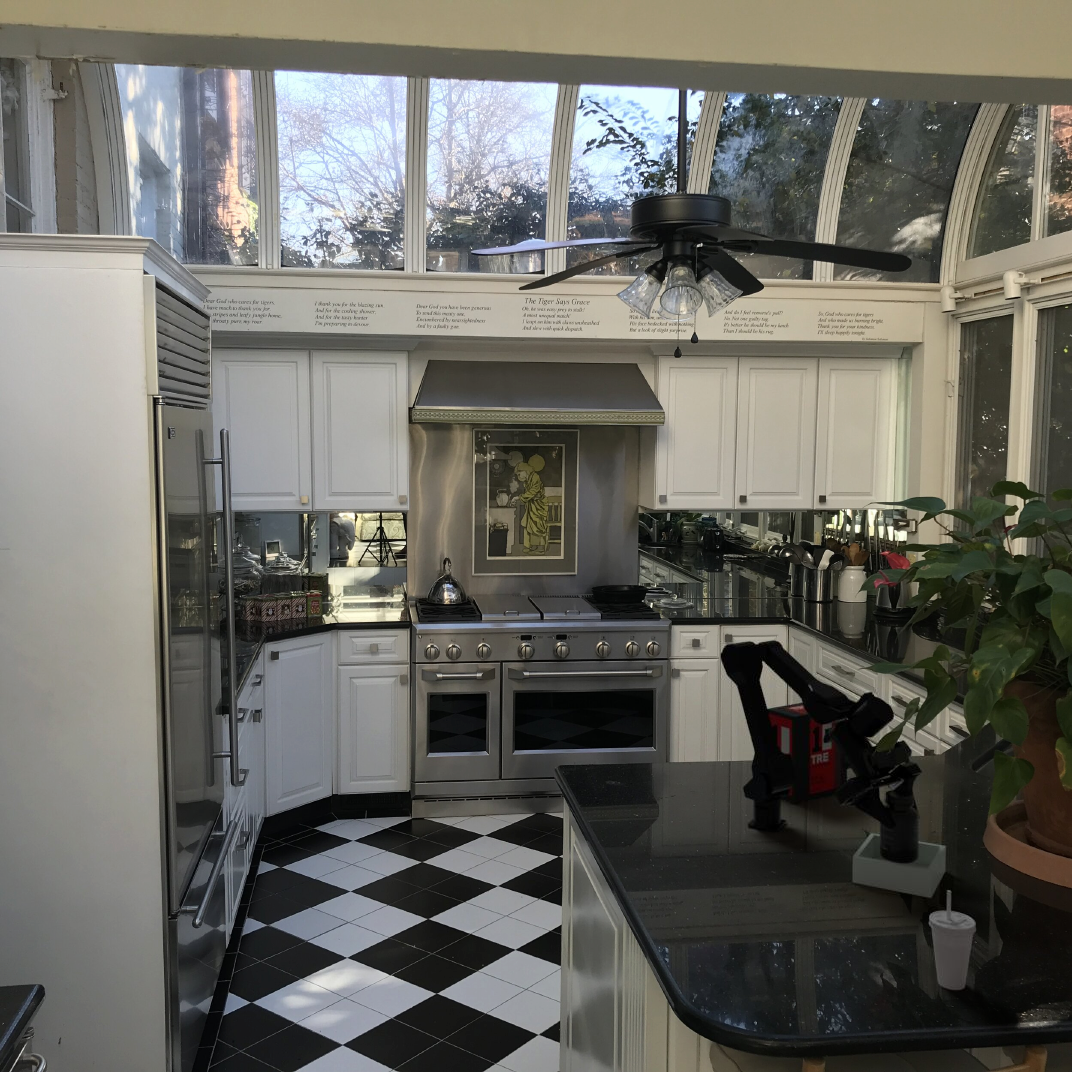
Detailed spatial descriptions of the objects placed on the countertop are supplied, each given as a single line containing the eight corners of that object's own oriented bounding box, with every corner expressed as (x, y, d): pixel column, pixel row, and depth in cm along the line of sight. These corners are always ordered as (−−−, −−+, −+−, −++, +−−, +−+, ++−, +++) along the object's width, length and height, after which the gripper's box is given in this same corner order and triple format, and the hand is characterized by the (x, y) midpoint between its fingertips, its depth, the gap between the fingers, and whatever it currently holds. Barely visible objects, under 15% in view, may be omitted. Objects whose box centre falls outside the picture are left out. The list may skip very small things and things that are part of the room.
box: (870, 857, 197) (871, 833, 196) (945, 871, 190) (945, 846, 189) (852, 882, 185) (852, 856, 185) (931, 898, 178) (931, 871, 178)
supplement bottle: (900, 848, 192) (902, 786, 191) (926, 861, 185) (928, 797, 185) (871, 853, 189) (872, 790, 188) (896, 866, 183) (897, 801, 182)
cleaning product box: (818, 781, 244) (818, 699, 242) (846, 791, 236) (847, 707, 235) (766, 793, 236) (766, 708, 234) (794, 804, 228) (794, 716, 226)
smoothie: (920, 974, 152) (921, 882, 151) (961, 971, 153) (962, 880, 152) (940, 996, 146) (942, 901, 145) (983, 993, 146) (985, 899, 145)
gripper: (849, 735, 184) (899, 813, 175) (914, 720, 194) (965, 792, 186) (815, 767, 191) (861, 842, 183) (879, 750, 201) (926, 821, 193)
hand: (905, 824), depth 186 cm, fingers closed on supplement bottle, 7 cm apart
